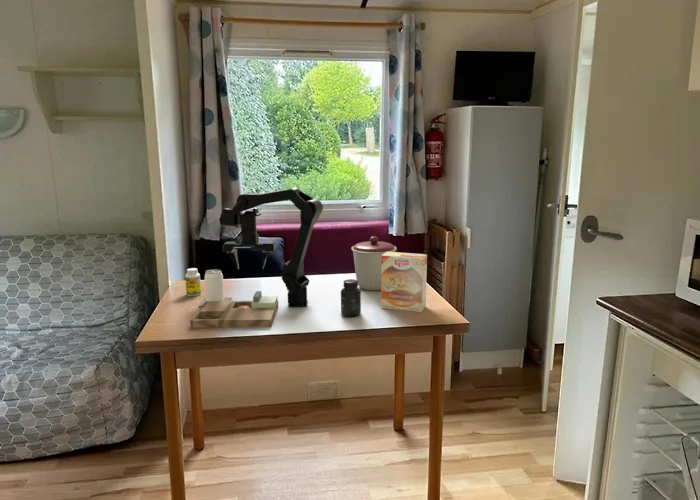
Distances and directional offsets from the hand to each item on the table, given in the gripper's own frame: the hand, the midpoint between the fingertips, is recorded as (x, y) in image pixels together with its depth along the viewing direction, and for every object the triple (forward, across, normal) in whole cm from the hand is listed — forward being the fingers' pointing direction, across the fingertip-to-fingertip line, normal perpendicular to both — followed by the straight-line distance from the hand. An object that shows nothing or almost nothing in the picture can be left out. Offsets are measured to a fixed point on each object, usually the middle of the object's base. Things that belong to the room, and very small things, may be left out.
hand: (250, 269), depth 195 cm
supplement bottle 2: (+12, -37, +18) cm, 43 cm away
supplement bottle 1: (+12, +24, -8) cm, 28 cm away
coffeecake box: (+12, -56, +11) cm, 58 cm away
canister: (+12, -47, -15) cm, 51 cm away
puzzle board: (+12, +2, +19) cm, 23 cm away
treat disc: (+12, 0, +14) cm, 18 cm away
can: (+12, +13, +4) cm, 18 cm away
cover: (+9, -7, +13) cm, 18 cm away
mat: (+12, +13, +3) cm, 18 cm away
